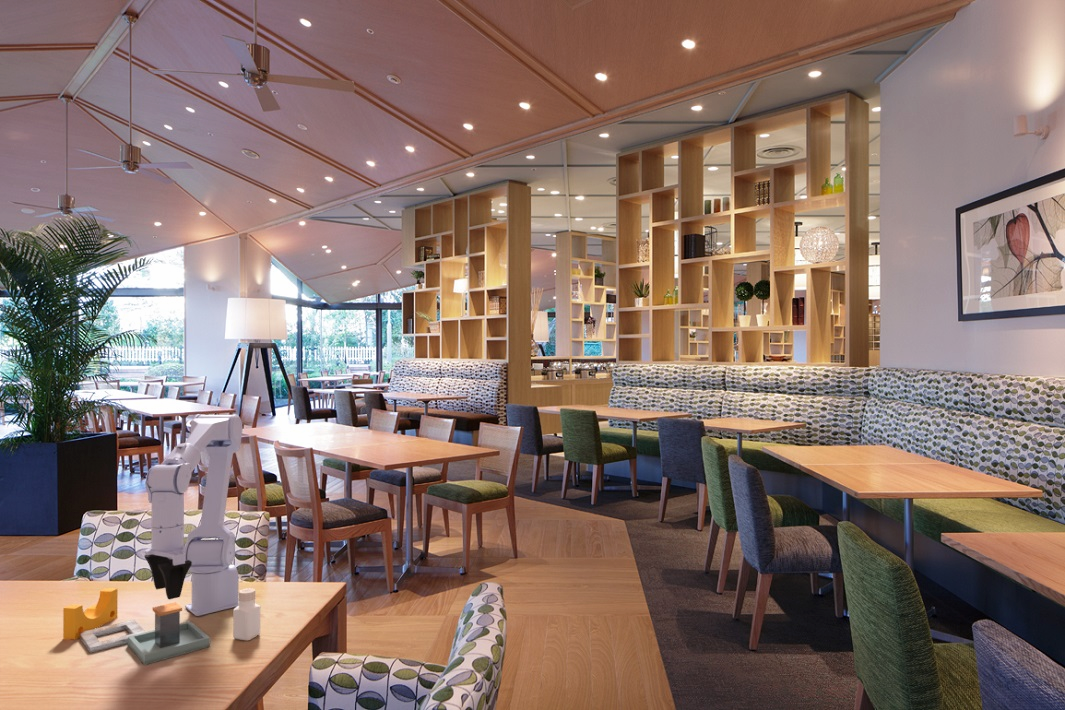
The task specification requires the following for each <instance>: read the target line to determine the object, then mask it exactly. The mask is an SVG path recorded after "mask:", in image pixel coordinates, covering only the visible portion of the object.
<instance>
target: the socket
mask: <svg viewBox="0 0 1065 710" xmlns="http://www.w3.org/2000/svg"><path fill="white" fill-rule="evenodd" d="M125 630H126V631H127V632H128V634H125V635H121V636H118V637H114V638H111V639H110V638H109V639H105V640H99V639H98V637H101V636H105V635H110V634H114V633H117V632H121V631H125ZM144 632H147V631H146V630H145V629H144V628H143V627H142V626H141V625H140V624H139V623H138V622H137V621H136V620H135V619H132V620H127V621H123V622H117V623H114V624H110V625H105V626H100V627H98V628H96V629H92V630H88V631H84V632H79V638H78V639H80V641H81V642H82V644H83V645H84V646H85V648H86V649H87V651H88V652H89V654H91V653H95V652H99V651H104V650H108V649H110V648H111V649H113V648H114V647H119V646H123V645H126V644H127V645H128V636H132V635H136V634H140V633H144Z"/></svg>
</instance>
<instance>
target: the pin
mask: <svg viewBox="0 0 1065 710" xmlns="http://www.w3.org/2000/svg"><path fill="white" fill-rule="evenodd" d="M152 612H154V630H155V643H156V644H157V645H158V646H159V648H163V647H167V646H171V645H174V644H178V643H180V624H181V618H180V616H181V614H180V613H181V612H183V607H182V606H180V605H179V604H178V603H177V602H176V601H175V602H171V603H166V604H163V605H157V606H154V607H152Z"/></svg>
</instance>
